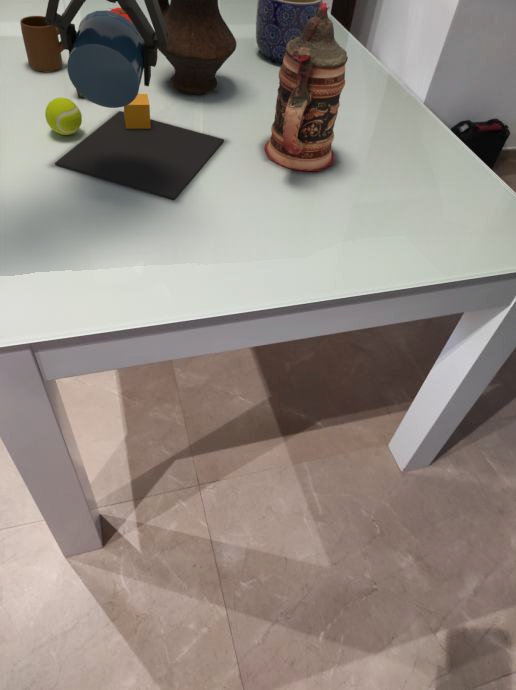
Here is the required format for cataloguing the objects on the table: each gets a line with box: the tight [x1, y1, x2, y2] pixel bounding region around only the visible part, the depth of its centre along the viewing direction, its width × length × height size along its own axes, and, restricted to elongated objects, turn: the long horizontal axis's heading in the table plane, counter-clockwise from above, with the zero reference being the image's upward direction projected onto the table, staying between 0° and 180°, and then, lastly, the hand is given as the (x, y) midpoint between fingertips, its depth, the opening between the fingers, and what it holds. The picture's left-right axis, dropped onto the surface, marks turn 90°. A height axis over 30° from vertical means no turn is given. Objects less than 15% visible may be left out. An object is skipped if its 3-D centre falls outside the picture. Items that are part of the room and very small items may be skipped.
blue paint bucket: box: [66, 10, 145, 109], centre depth 82 cm, size 11×11×8 cm
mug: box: [19, 15, 78, 73], centre depth 118 cm, size 12×8×9 cm, turn 100°
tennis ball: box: [44, 97, 83, 136], centre depth 100 cm, size 7×7×7 cm
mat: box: [54, 110, 225, 201], centre depth 100 cm, size 24×24×1 cm
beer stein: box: [264, 2, 349, 172], centre depth 97 cm, size 17×28×18 cm
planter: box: [255, 0, 324, 64], centre depth 135 cm, size 16×16×15 cm
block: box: [123, 93, 151, 129], centre depth 105 cm, size 5×5×5 cm
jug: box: [157, 0, 237, 95], centre depth 112 cm, size 21×18×30 cm
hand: (112, 74), depth 86 cm, fingers closed on blue paint bucket, 11 cm apart
